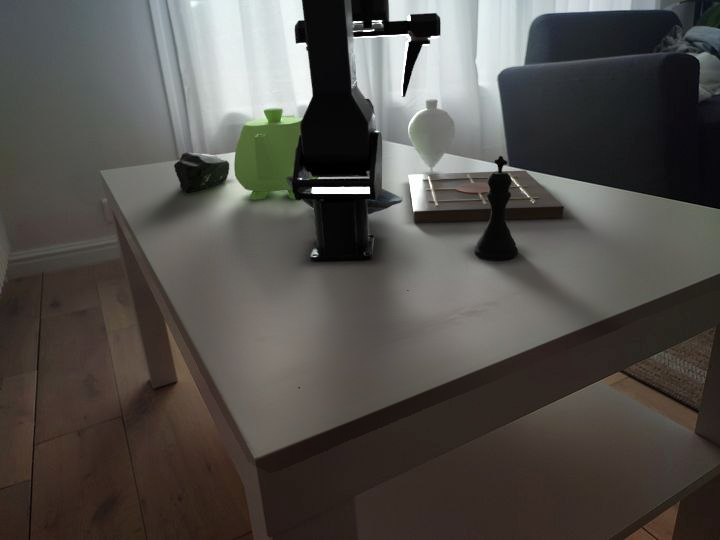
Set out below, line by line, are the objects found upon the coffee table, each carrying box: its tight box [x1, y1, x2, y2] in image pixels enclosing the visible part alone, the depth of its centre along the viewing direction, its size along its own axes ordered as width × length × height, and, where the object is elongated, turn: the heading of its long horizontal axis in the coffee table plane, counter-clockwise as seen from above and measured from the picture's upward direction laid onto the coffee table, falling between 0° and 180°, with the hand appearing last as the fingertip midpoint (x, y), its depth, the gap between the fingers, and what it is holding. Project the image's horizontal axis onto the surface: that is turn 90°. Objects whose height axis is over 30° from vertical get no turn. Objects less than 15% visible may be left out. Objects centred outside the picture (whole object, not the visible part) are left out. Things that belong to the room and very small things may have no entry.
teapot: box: [233, 107, 320, 200], centre depth 81 cm, size 20×13×13 cm
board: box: [408, 170, 565, 224], centre depth 74 cm, size 20×18×2 cm
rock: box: [173, 152, 230, 194], centre depth 89 cm, size 10×9×6 cm
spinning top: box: [407, 98, 456, 174], centre depth 88 cm, size 8×8×12 cm
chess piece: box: [473, 155, 519, 261], centre depth 53 cm, size 4×4×10 cm
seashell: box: [286, 176, 404, 215], centre depth 68 cm, size 15×12×5 cm
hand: (370, 98), depth 73 cm, fingers open, 9 cm apart
